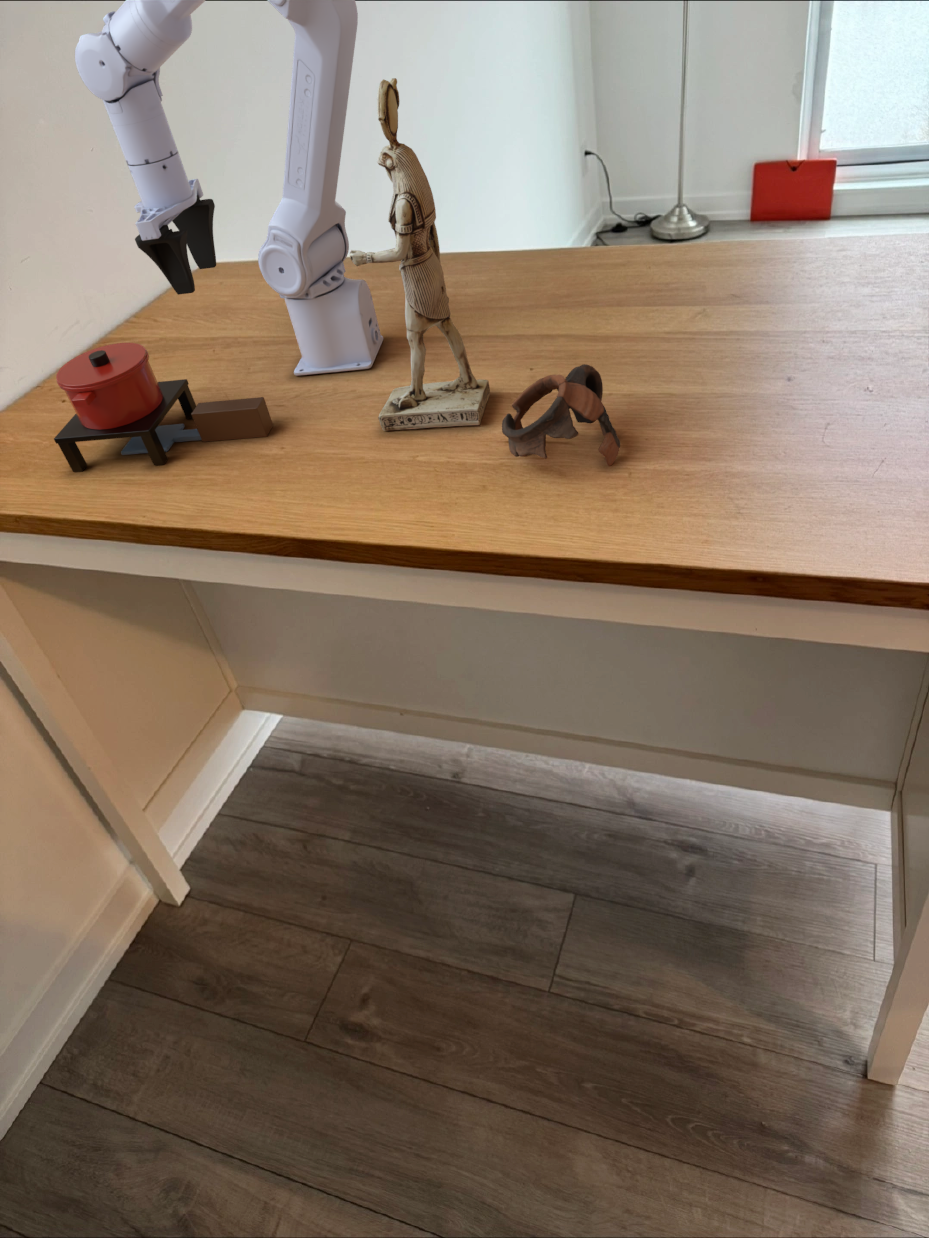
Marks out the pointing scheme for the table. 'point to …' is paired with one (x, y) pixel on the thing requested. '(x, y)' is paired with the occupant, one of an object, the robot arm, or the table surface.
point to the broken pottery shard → (561, 413)
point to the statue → (420, 290)
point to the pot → (117, 400)
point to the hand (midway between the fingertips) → (197, 279)
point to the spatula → (214, 424)
